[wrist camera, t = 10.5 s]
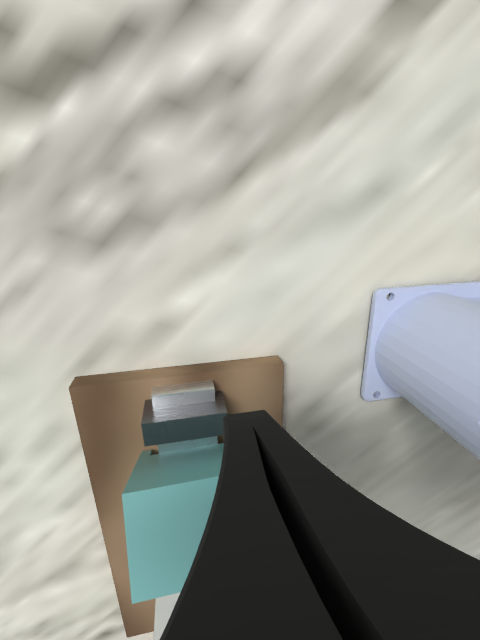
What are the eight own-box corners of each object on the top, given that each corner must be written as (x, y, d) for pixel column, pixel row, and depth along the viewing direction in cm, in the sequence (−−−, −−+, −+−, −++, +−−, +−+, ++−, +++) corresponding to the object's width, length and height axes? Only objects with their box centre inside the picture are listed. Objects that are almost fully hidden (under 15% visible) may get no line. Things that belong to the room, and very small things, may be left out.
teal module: (233, 436, 20) (249, 470, 14) (241, 509, 20) (261, 572, 14) (141, 451, 19) (121, 494, 14) (149, 528, 19) (132, 604, 13)
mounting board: (277, 355, 20) (283, 364, 19) (273, 585, 27) (277, 600, 26) (75, 376, 18) (68, 387, 17) (129, 618, 25) (127, 637, 24)
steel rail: (221, 378, 18) (226, 399, 16) (232, 607, 25) (237, 642, 23) (143, 387, 18) (139, 410, 16) (176, 621, 25) (176, 658, 23)
